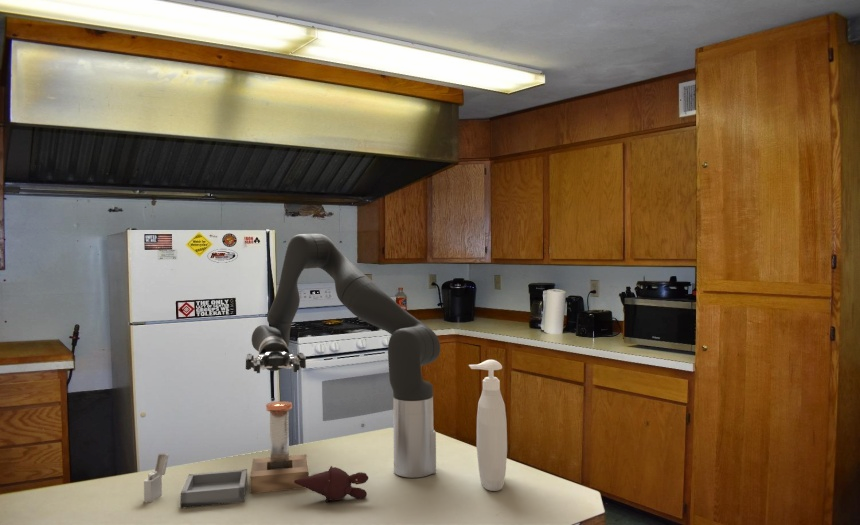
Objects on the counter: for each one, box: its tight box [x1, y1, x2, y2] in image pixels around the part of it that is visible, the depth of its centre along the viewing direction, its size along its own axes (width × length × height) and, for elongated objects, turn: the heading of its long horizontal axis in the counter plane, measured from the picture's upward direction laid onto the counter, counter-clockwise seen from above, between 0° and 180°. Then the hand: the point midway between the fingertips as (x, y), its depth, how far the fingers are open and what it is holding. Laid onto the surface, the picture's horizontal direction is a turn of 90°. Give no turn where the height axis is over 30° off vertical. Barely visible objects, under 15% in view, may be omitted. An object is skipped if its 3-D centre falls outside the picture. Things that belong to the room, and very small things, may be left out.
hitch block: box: [249, 453, 309, 494], centre depth 135 cm, size 12×12×4 cm
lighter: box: [143, 453, 169, 503], centre depth 127 cm, size 7×2×8 cm, turn 176°
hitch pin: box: [265, 400, 293, 470], centre depth 135 cm, size 6×6×17 cm
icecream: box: [294, 465, 369, 503], centre depth 124 cm, size 7×7×15 cm
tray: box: [180, 468, 248, 509], centre depth 127 cm, size 12×11×3 cm
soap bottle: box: [468, 359, 508, 492], centre depth 131 cm, size 14×8×27 cm, turn 0°
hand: (277, 368), depth 143 cm, fingers open, 8 cm apart
